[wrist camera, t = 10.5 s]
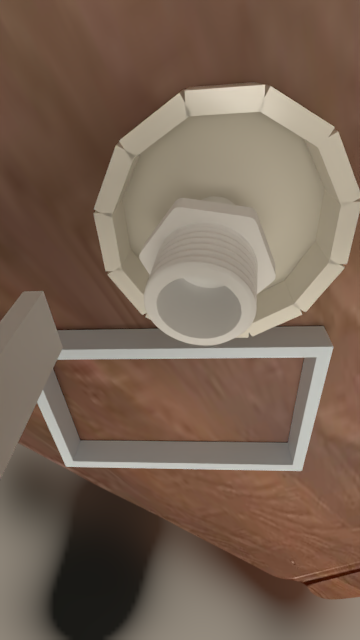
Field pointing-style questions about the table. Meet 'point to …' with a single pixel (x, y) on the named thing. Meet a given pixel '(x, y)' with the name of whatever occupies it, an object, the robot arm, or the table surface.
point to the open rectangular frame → (183, 453)
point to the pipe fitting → (206, 270)
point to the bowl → (235, 188)
